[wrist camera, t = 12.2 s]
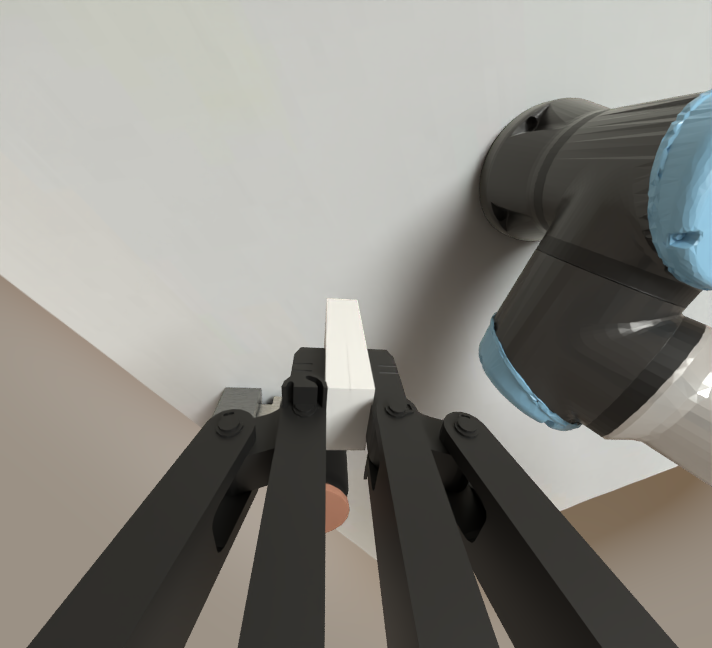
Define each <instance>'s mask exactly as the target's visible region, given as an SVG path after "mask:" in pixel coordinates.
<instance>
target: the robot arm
mask: <svg viewBox="0 0 712 648" xmlns="http://www.w3.org/2000/svg"><path fill="white" fill-rule="evenodd" d="M479 193H480V201H481V206H482V209H483V212H484V214H485V216H486V218H487V219H488V221H489V222H490V223H491V225H492V226H493V227H494V228H496V229H497V230H498V231H500V232H502V233H503V234H506V235H508V236H510V237H513V238H516V239H519V240H525V241H539V240H541V242H540V244H539V245H538V247H537V249H536V250H535V251H534V253H533V255H532V256H531V258H530V259H529V261H528V263H527V264H526V266H525V268H524V269H523V271H522V273H521V274H520V276H519V277H518V279H517V281H516V282H515V284H514V286H513V287H512V289H511V290H510V292H509V294H508V295H507V297H506V299H505V300H504V302H503V304H502V305H501V307H500V308H499V310H498V312H496V313H494V315H493V316H492V318H491V322H490V325H489V327H488V329H487V331H486V333H485V335H484V337H483V338H482V340H481V342H480V345H479V358H480V362H481V364H482V367H483V369H484V371H485V373H486V375H487V376H488V378H489V379H490V381H491V382H492V383H493V385H494V386H495V387H496V388H497V389H498V391H499V392H500V393H501V394H502V395H503V396H504V397H505V398H506V399H507V400H509V401H510V402H511V403H512V404H513V405H514V406H515V407H517V408H518V409H519V410H520V411H522V412H523V413H524V414H526V415H527V416H529V417H531V418H532V419H534V420H536V421H537V422H539V423H543V422H544V423H545V424H546V425H547V426H548V427H550V428H553V429H556V430H560V431H568V430H572V429H575V428H579V427H580V426H581V425H582V424H583V425H585V426H586V427H588V428H589V429H591V430H592V431H594V432H595V433H597V434H598V435H600V436H601V437H603V438H604V439H611V440H636V441H641V442H643V443H645V444H646V445H648V446H649V447H651V448H652V449H654V450H655V451H657V452H659V453H660V454H662V455H663V456H665V457H666V458H668V459H669V460H671V461H673V462H674V463H676V464H677V465H679V466H680V467H682V468H683V469H685V470H687V471H688V472H690V473H691V474H693V475H694V476H696V477H697V478H699V479H700V480H702V481H704V482H705V483H707V484H708V485H710V486H711V487H712V328H711V327H709V326H708V325H705V324H702V323H700V322H697V321H695V320H693V319H690V318H688V317H685V316H683V314H682V312H683V311H684V310H685V308H687V306H688V305H689V304H690V303H691V302H692V301H693V300H694V299H695V298H696V296H697V295H698V294H699V293H700V292H702V290H707V291H708V290H712V89H711V90H709V91H705V92H700V93H694V94H689V95H684V96H678V97H673V98H667V99H662V100H657V101H651V102H646V103H640V104H635V105H630V106H624V107H619V108H614V109H610V108H607V107H604V106H602V105H599V104H596V103H594V102H591V101H588V100H585V99H580V98H562V99H557V100H553V101H549V102H545V103H541V104H539V105H536V106H534V107H532V108H530V109H528V110H526V111H525V112H523V113H521V114H520V115H519V116H517V117H516V118H515V119H514V120H512V121H511V122H510V123H509V124H508V125H507V126H506V127H505V128H504V130H503V131H502V132H501V133H500V135H499V136H498V137H497V139H496V140H495V142H494V143H493V145H492V147H491V148H490V150H489V152H488V154H487V157H486V159H485V162H484V165H483V168H482V172H481V177H480V187H479ZM366 442H367V450H368V455H367V460H366V466H365V471H364V479H367V476H368V485H369V493H370V502H371V510H372V519H373V528H374V536H375V545H376V553H377V562H378V570H379V578H380V588H381V596H382V605H383V613H384V622H385V630H386V639H387V647H388V648H499V645H498V642H497V639H496V637H495V633H494V631H493V628H492V625H491V622H490V619H489V616H488V613H487V611H486V608H485V605H484V602H483V599H482V596H481V593H480V590H479V587H478V584H477V581H476V579H475V576H474V573H475V575H476V577H477V579H478V581H479V583H480V584H481V586H482V588H483V590H484V592H485V594H486V595H487V597H488V599H489V601H490V603H491V605H492V606H493V608H494V610H495V612H496V613H497V616H498V618H499V619H500V621H501V623H502V625H503V627H504V628H505V630H506V632H507V634H508V636H509V638H510V639H511V641H512V643H513V645H514V647H515V648H678V647H677V645H676V644H675V643H674V642H673V641H672V640H671V639H670V637H669V636H668V635H667V634H666V633H665V632H664V630H663V629H662V628H661V627H660V626H659V625H658V624H657V622H656V621H655V620H654V619H653V618H652V617H651V616H650V614H649V613H648V612H647V611H646V610H645V609H644V608H643V606H642V605H641V604H640V603H639V602H638V601H637V599H636V598H635V597H634V596H633V595H632V594H631V593H630V591H628V589H627V588H626V587H625V586H624V585H623V583H622V582H621V581H620V580H619V579H618V578H617V577H616V576H615V574H614V573H613V572H612V571H611V570H610V569H609V567H608V566H607V565H606V564H605V563H604V562H603V560H602V559H601V558H600V557H599V556H598V555H597V554H596V552H595V551H594V550H593V549H592V548H591V547H590V546H589V544H588V543H587V542H586V541H585V540H584V539H583V538H582V536H581V535H580V534H579V533H578V532H577V531H576V530H575V528H574V527H573V526H572V525H571V524H570V523H569V522H568V520H567V519H566V518H565V517H564V516H563V515H562V514H561V512H560V511H559V510H558V509H557V508H556V507H555V505H554V504H553V503H552V502H551V501H550V500H549V499H548V497H547V496H546V495H545V494H544V493H543V492H542V490H541V489H540V488H539V487H538V486H537V485H536V484H535V482H534V481H533V480H532V479H531V478H530V477H529V476H528V474H527V473H526V472H525V471H524V470H523V469H522V468H521V466H520V465H519V464H518V463H517V462H516V461H515V460H514V458H513V457H512V456H511V455H510V454H509V453H508V451H507V450H506V449H505V448H504V447H503V446H502V445H501V443H500V442H499V441H498V440H497V439H496V438H495V437H494V435H493V434H492V433H491V432H490V431H489V430H488V429H487V427H486V426H485V425H484V424H483V423H482V422H481V421H480V420H478V419H477V418H475V417H474V416H472V415H470V414H467V413H463V412H452V413H450V414H447V416H446V417H445V418H444V421H443V420H440V419H436V418H432V417H429V416H426V415H423V414H421V413H419V412H418V411H417V409H416V407H415V405H414V404H413V403H412V402H410V401H409V400H408V399H406V396H405V393H404V389H403V386H402V383H401V380H400V377H399V374H398V371H397V368H396V364H395V361H394V358H393V357H392V356H391V355H390V353H389V352H388V351H387V350H375V349H367V346H366V341H365V336H364V331H363V326H362V321H361V316H360V310H359V305H358V300H351V299H334V298H327V306H326V323H325V340H324V348H307V347H301V348H300V349H299V350H298V351H297V352H296V353H295V354H294V360H293V365H292V371H291V376H290V377H289V378H288V379H286V380H285V381H284V383H283V385H282V406H281V407H280V408H279V409H278V410H276V411H274V412H272V413H270V414H266V415H263V416H259V417H253V416H252V415H251V414H250V413H249V412H247V411H244V410H242V409H230V410H226V411H222V412H220V413H218V414H216V415H214V416H213V417H212V418H211V419H210V420H209V421H207V423H206V424H205V425H204V426H203V428H202V429H201V430H200V431H199V433H198V434H197V435H196V436H195V438H194V439H193V440H192V441H191V443H190V444H189V445H188V446H187V448H186V449H185V450H184V451H183V453H182V454H181V455H180V456H179V458H178V459H177V460H176V461H175V463H174V464H173V465H172V466H171V468H170V469H169V470H168V471H167V473H166V474H165V475H164V477H163V478H162V479H161V480H160V481H159V483H158V484H157V485H156V487H155V488H154V489H153V490H152V491H151V493H150V494H149V495H148V497H147V498H146V499H145V500H144V501H143V503H142V504H141V505H140V507H139V508H138V509H137V510H136V512H135V513H134V514H133V515H132V517H131V518H130V519H129V520H128V522H127V523H126V524H125V525H124V527H123V528H122V529H121V530H120V532H119V533H118V534H117V535H116V537H115V538H114V539H113V540H112V542H111V543H110V544H109V545H108V547H107V548H106V549H105V550H104V552H103V553H102V554H101V555H100V557H99V558H98V559H97V560H96V562H95V563H94V564H93V565H92V567H91V568H90V569H89V571H88V572H87V573H86V574H85V575H84V577H83V578H82V579H81V580H80V582H79V583H78V584H77V586H76V587H75V588H74V589H73V591H72V592H71V593H70V594H69V595H68V597H67V598H66V599H65V600H64V602H63V603H62V604H61V606H60V607H59V608H58V609H57V610H56V612H55V613H54V614H53V615H52V617H51V618H50V619H49V621H48V622H47V623H46V624H45V626H44V627H43V628H42V629H41V630H40V632H39V633H38V634H37V636H36V637H35V638H34V639H33V640H32V642H31V643H30V645H29V646H28V647H27V648H184V646H185V644H186V642H187V640H188V638H189V636H190V634H191V631H192V629H193V627H194V625H195V623H196V621H197V619H198V617H199V615H200V612H201V610H202V608H203V606H204V604H205V602H206V600H207V598H208V596H209V593H210V591H211V589H212V587H213V585H214V583H215V581H216V579H217V576H218V574H219V572H220V570H221V568H222V566H223V564H224V562H225V559H226V557H227V555H228V553H229V550H230V549H231V547H232V545H233V542H234V540H235V538H236V536H237V534H238V532H239V530H240V528H241V525H242V523H243V521H244V519H245V517H246V515H247V512H248V510H249V508H250V506H251V504H252V502H253V500H254V498H255V495H256V494H257V491H258V488H260V487H264V486H267V485H268V487H267V493H266V498H265V503H264V509H263V514H262V519H261V525H260V530H259V535H258V541H257V546H256V552H255V557H254V563H253V568H252V573H251V579H250V584H249V590H248V595H247V600H246V606H245V611H244V616H243V622H242V627H241V633H240V639H239V643H238V648H324V642H325V641H324V640H325V637H324V636H325V631H324V630H325V629H324V627H325V520H326V450H365V446H366ZM473 572H474V573H473Z"/></svg>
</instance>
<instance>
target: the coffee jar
mask: <svg viewBox="0 0 712 648" xmlns="http://www.w3.org/2000/svg"><path fill="white" fill-rule="evenodd" d="M347 495H348V473H347V455H346V450H326V520H325V533H326V532H329V531H332V530H334V529H336V528H337V527H339V526H340V525H342V524H343V522H344V521H345V520H346V519H347V517H348V513H349V504H348V500H347Z"/></svg>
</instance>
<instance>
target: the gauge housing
mask: <svg viewBox="0 0 712 648" xmlns="http://www.w3.org/2000/svg"><path fill="white" fill-rule="evenodd" d="M259 404H262V393H261V388H225V390H224V392H223V395H222V397H221V399H220V401H219V403H218V406H217V408H216V410H215V412H214V414H213V416H214V415H216V414H218V413H220V412H222V411H226V410H230V409H242V410H244V411H247V412H249V413H250V414H251V415H252V416H253V417H256V413H257V410H258V406H259Z"/></svg>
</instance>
